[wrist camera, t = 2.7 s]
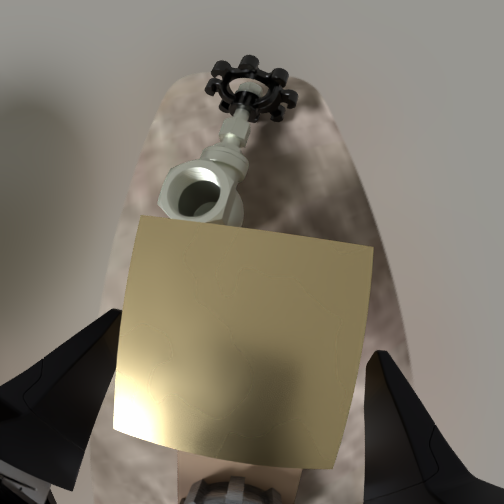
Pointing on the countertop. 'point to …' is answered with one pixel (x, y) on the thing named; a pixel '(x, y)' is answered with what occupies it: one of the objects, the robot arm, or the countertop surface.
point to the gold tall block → (241, 342)
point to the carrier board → (222, 470)
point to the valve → (225, 147)
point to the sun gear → (230, 493)
